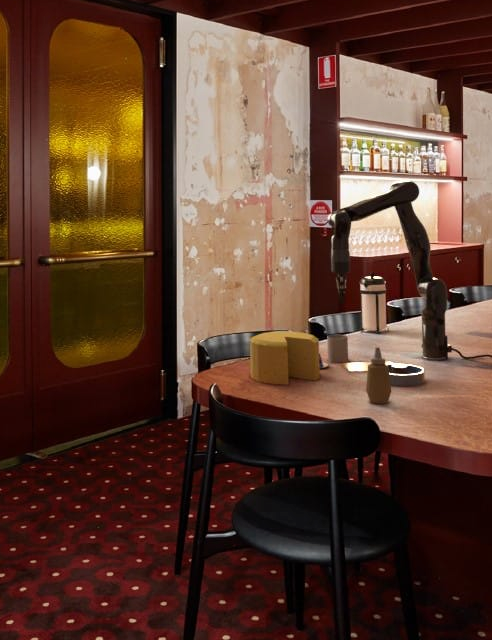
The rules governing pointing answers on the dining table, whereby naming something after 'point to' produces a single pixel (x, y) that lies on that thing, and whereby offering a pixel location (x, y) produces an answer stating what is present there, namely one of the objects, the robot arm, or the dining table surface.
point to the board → (359, 366)
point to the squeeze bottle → (378, 379)
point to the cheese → (284, 357)
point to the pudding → (321, 364)
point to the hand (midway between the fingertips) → (341, 300)
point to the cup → (337, 348)
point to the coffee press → (373, 303)
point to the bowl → (407, 376)
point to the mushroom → (399, 369)
